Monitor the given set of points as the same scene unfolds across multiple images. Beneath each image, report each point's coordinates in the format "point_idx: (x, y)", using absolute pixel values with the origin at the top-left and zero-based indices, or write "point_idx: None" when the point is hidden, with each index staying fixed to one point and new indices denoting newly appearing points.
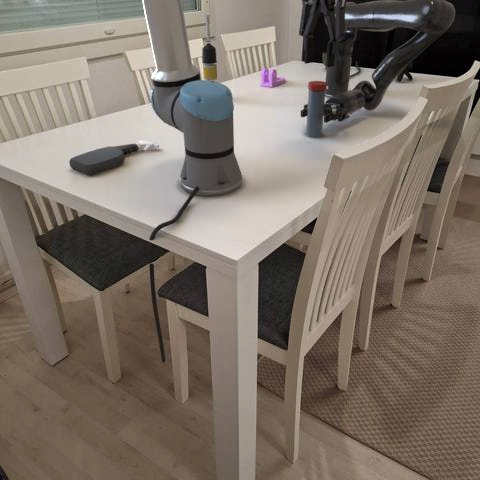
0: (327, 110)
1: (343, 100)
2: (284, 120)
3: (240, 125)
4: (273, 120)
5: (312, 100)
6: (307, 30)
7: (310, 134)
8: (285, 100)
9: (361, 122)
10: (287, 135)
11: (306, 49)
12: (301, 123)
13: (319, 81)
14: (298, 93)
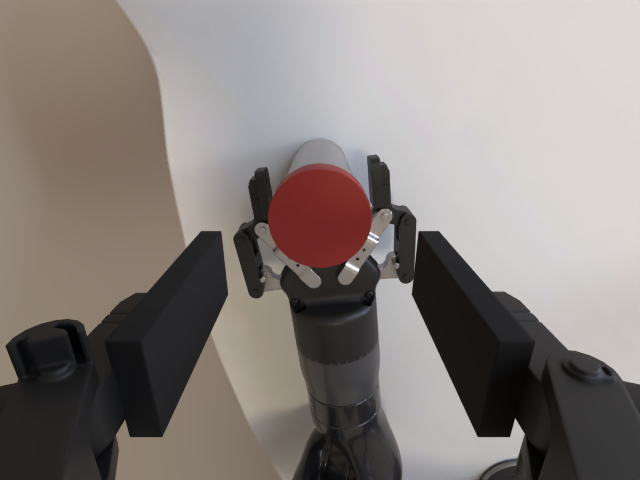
0: None
1: (303, 327)
2: (495, 208)
3: (604, 37)
4: (528, 180)
5: (310, 159)
6: (595, 446)
7: (312, 140)
8: (621, 363)
9: None
10: (382, 92)
11: (463, 280)
12: (428, 225)
13: (336, 254)
14: None
